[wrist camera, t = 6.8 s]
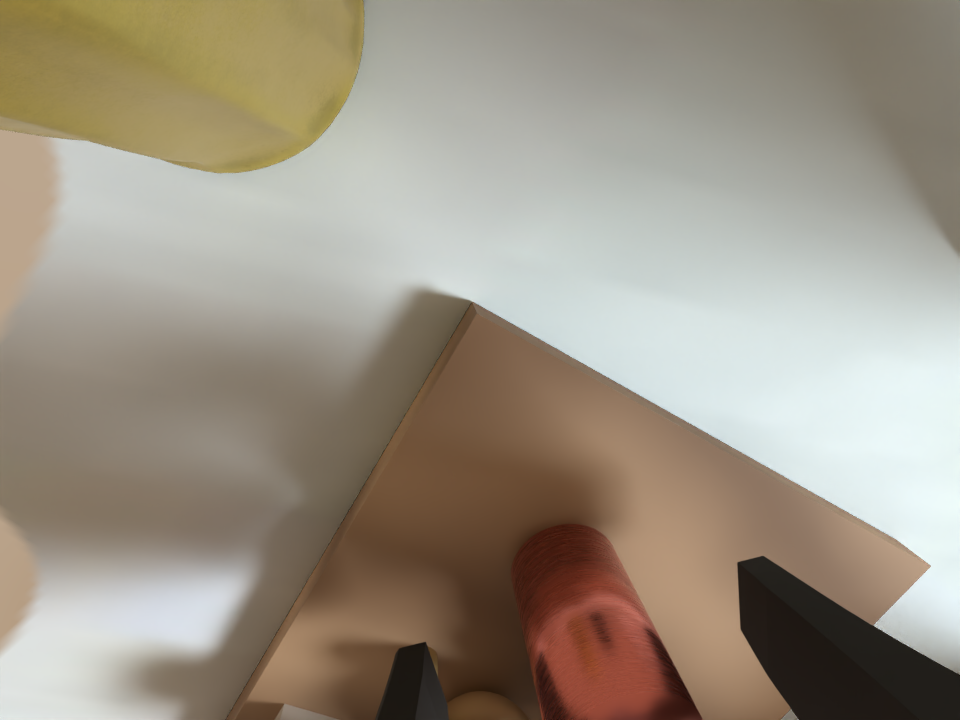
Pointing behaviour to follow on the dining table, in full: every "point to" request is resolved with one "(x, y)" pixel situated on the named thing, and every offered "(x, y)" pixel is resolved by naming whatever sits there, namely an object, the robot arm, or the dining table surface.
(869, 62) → the dining table surface
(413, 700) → the robot arm
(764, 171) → the dining table surface
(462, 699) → the walnut
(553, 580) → the lever
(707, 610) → the cracker base
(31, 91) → the vase
